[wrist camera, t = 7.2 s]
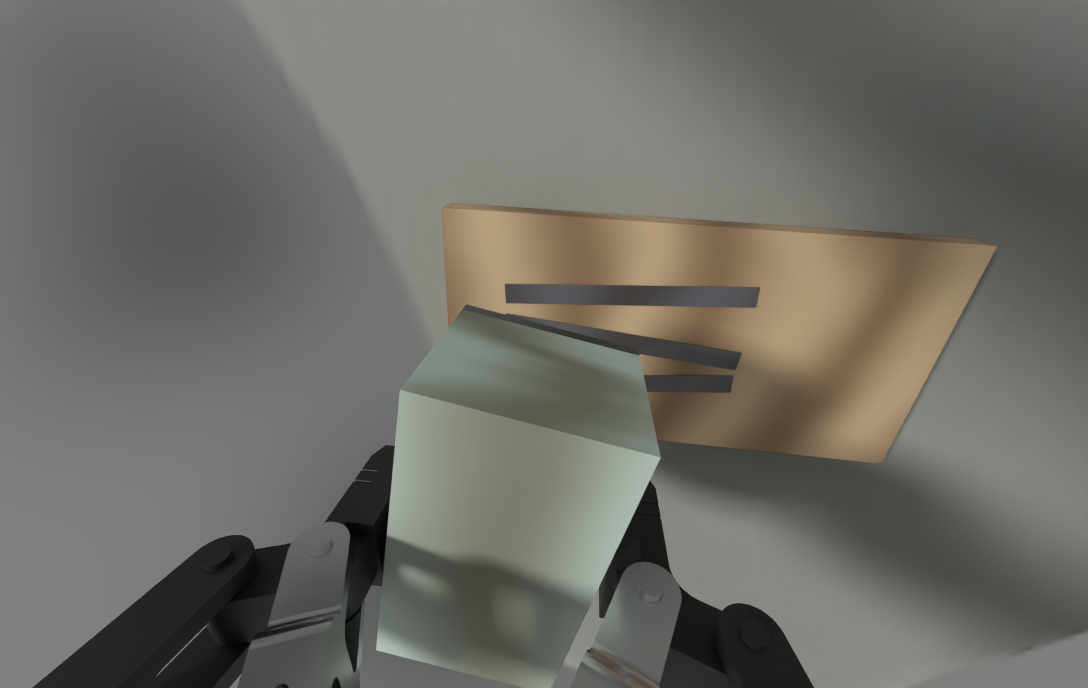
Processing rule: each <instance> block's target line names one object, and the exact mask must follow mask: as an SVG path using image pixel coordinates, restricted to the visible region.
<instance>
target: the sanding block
mask: <svg viewBox="0 0 1088 688" xmlns="http://www.w3.org/2000/svg"><path fill="white" fill-rule="evenodd" d="M660 458H661V457H660V452H659V447H658V442H657V437H656V433H655V428H654V423H653V418H652V413H651V408H650V404H649V399H648V394H647V389H646V384H645V379H644V375H643V370H642V365H641V360H640V355H639V350H638V349H635V348H632V347H628V346H624V345H620V344H616V343H612V342H609V341H605V340H601V339H597V338H593V337H590V336H586V335H582V334H578V333H574V332H570V331H567V330H563V329H559V328H555V327H551V326H547V325H544V324H540V323H536V322H532V321H528V320H525V319H521V318H517V317H513V316H509V315H505V314H502V313H498V312H494V311H490V310H486V309H482V308H479V307H475V306H471V305H467V304H466V305H465V307H464V308H463V309H462V311H461V312H460V313H459V314H458V316H457V317H456V318H455V320H454V321H453V322H452V323H451V325H450V326H449V327H448V329H447V330H446V331H445V332H444V334H443V335H442V336H441V338H440V339H439V340H438V342H437V343H436V344H435V345H434V347H433V348H432V349H431V351H430V352H429V353H428V354H427V356H426V357H425V358H424V360H423V361H422V362H421V363H420V365H419V366H418V367H417V369H416V370H415V371H414V373H413V374H412V375H411V377H410V378H409V379H408V380H407V382H406V383H405V384H404V385H403V387H402V388H401V390H400V396H399V408H398V418H397V429H396V440H395V451H394V461H393V472H392V483H391V494H390V505H389V516H388V527H387V538H386V549H385V560H384V571H383V582H382V593H381V604H380V614H379V625H378V636H377V647H376V648H377V649H376V650H378V651H382V652H386V653H389V654H393V655H397V656H402V657H405V658H409V659H413V660H417V661H421V662H425V663H429V664H433V665H437V666H440V667H444V668H448V669H452V670H456V671H460V672H464V673H468V674H472V675H476V676H480V677H484V678H488V679H492V680H495V681H499V682H503V683H508V684H511V685H515V686H519V687H523V688H551V686H552V684H553V682H554V680H555V678H556V676H557V674H558V672H559V670H560V668H561V666H562V664H563V661H564V659H565V657H566V655H567V653H568V651H569V649H570V647H571V645H572V643H573V640H574V638H575V636H576V634H577V632H578V630H579V628H580V626H581V624H582V622H583V619H584V617H585V615H586V613H587V611H588V609H589V607H590V605H591V603H592V601H593V598H594V596H595V594H596V592H597V590H598V588H599V586H600V584H601V582H602V580H603V578H604V575H605V573H606V571H607V569H608V567H609V565H610V563H611V561H612V559H613V557H614V554H615V552H616V550H617V548H618V546H619V544H620V542H621V540H622V538H623V536H624V533H625V531H626V529H627V527H628V525H629V523H630V521H631V519H632V517H633V515H634V512H635V510H636V508H637V506H638V504H639V502H640V500H641V498H642V496H643V494H644V491H645V489H646V487H647V485H648V483H649V481H650V479H651V477H652V475H653V473H654V471H655V468H656V466H657V464H658V462H659V460H660Z"/></svg>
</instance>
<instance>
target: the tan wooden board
mask: <svg viewBox="0 0 1088 688" xmlns="http://www.w3.org/2000/svg"><path fill="white" fill-rule="evenodd" d="M442 220H443V237H444V255H445V272H446V290H447V307H448V325H449V326H450V325H451V323H452V322H453V321H454V320H455V318H456V317H457V316H458V314H459V313H460V312H461V311H462V309H463V308H464V307H465V305H466V304H467V305H471V306H475V307H479V308H482V309H486V310H490V311H494V312H498V313H502V314H505V315H509V316H513V317H517V318H521V319H525V320H528V321H532V322H536V323H540V324H544V325H547V326H551V327H555V328H559V329H563V330H567V331H570V332H574V333H578V334H582V335H586V336H590V337H593V338H597V339H601V340H605V341H609V342H612V343H616V344H620V345H624V346H628V347H632V348H635V349H638V350H639V355H640V360H641V365H642V370H643V375H644V379H645V384H646V389H647V394H648V399H649V404H650V408H651V413H652V418H653V423H654V428H655V433H656V437H657V440H660V441H669V442H679V443H688V444H698V445H707V446H717V447H726V448H736V449H745V450H755V451H765V452H774V453H784V454H793V455H803V456H812V457H822V458H831V459H841V460H850V461H860V462H869V463H879V464H881V463H882V461H883V460H884V458H885V456H886V454H887V452H888V450H889V448H890V446H891V445H892V443H893V441H894V439H895V437H896V435H897V433H898V431H899V430H900V428H901V426H902V424H903V422H904V420H905V418H906V417H907V415H908V413H909V411H910V409H911V407H912V405H913V403H914V402H915V400H916V398H917V396H918V394H919V392H920V390H921V388H922V387H923V385H924V383H925V381H926V379H927V377H928V375H929V373H930V372H931V370H932V368H933V366H934V364H935V362H936V360H937V359H938V357H939V355H940V353H941V351H942V349H943V347H944V345H945V344H946V342H947V340H948V338H949V336H950V334H951V332H952V330H953V329H954V327H955V325H956V323H957V321H958V319H959V317H960V315H961V314H962V312H963V310H964V308H965V306H966V304H967V302H968V301H969V299H970V297H971V295H972V293H973V291H974V289H975V287H976V286H977V284H978V282H979V280H980V278H981V276H982V274H983V272H984V271H985V269H986V267H987V265H988V263H989V261H990V259H991V257H992V256H993V254H994V252H995V250H996V248H997V246H996V245H992V244H989V243H985V242H981V241H978V240H974V239H970V238H959V237H944V236H929V235H914V234H900V233H885V232H870V231H856V230H841V229H826V228H812V227H797V226H782V225H767V224H753V223H738V222H723V221H709V220H694V219H679V218H664V217H650V216H635V215H620V214H606V213H591V212H576V211H562V210H547V209H532V208H517V207H503V206H488V205H473V204H459V203H450V204H448V205H446V206H444V207H442Z"/></svg>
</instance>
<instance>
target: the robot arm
mask: <svg viewBox="0 0 1088 688" xmlns="http://www.w3.org/2000/svg"><path fill="white" fill-rule="evenodd" d="M394 451H395V446H389V445H386V446H384V447H383V448H381V449H380V450H379V451H377V452H376V453H375V454H373V455H372V456H371V457H370V459H369V460H368V462H367V463H366V464H365V466H364V467H363V470H362V471H360V473H359V475H358V476H357V477H356V479H355V482H353V483H352V484H351V486H350V487H349V489H348V490H347V491H346V493H345V494H344V496H343V497H342V499H341V500H340V501H339V503H338V504H337V506H336V507H335V508H334V510H333V511H332V513H331V514H330V516H329V517H328V518H327V520H326V521H325V522H324V523H320V524H317V525H314V526H312V527H310V528H308V529H306V530H305V531H303V532H302V533H301V534H299V535H298V536H297V537H296V538H295V539H294V541H293V542H292V543H290V544H285V545H279V546H272V547H266V548H260V549H255V548H254V546H253V543H252V541H251V540H250V539H249V538H247V537H245V536H242V535H231V536H226V537H222V538H219V539H216V540H214V541H212V542H210V543H208V544H206V545H205V546H203V547H201V548H200V549H199V550H198V551H196V552H195V553H194V554H193V555H191V556H190V557H189V558H188V559H187V560H186V561H184V562H183V563H182V564H181V565H180V566H178V567H177V568H176V569H175V570H173V571H172V572H171V573H170V574H169V575H167V577H165V578H164V579H163V580H161V581H160V582H159V583H158V584H157V585H155V586H154V587H153V588H152V589H151V590H149V591H148V592H147V593H146V594H145V595H143V596H142V597H141V598H140V599H138V600H137V601H136V602H135V603H134V604H132V605H131V606H130V607H129V608H128V609H127V610H125V611H124V612H123V613H122V614H120V615H119V616H118V617H117V618H116V619H115V620H113V621H112V622H111V623H110V624H109V625H107V626H106V627H105V628H104V629H102V630H101V631H100V632H99V633H98V634H97V635H95V636H94V637H93V638H92V639H90V640H89V641H88V642H87V643H86V644H85V645H83V646H82V647H81V648H80V649H79V650H77V651H76V652H75V653H74V654H72V655H71V656H70V657H69V658H68V659H66V660H65V661H64V662H63V663H62V664H60V665H59V666H58V667H57V668H56V669H54V670H53V671H52V672H51V673H50V674H48V675H47V676H46V677H45V678H44V679H42V680H41V681H40V682H39V683H38V684H36V685H35V686H34V687H33V688H229V687H230V686H231V685H232V684H233V682H234V681H235V680H236V679H237V678H238V677H239V675H240V674H241V677H240V680H239V683H238V687H237V688H360V670H361V657H362V644H363V631H364V617H365V600H364V599H365V597H366V594H367V593H368V591H369V589H370V587H371V585H376V586H382V582H383V571H384V560H385V549H386V538H387V527H388V516H389V505H390V494H391V483H392V472H393V461H394ZM599 618H604V619H603V622H602V624H601V626H600V629H599V631H598V634H597V636H596V638H595V641H594V643H593V645H592V647H591V649H590V650H587V652H586V653H585V655H584V657H583V659H582V661H581V663H580V666H579V668H578V670H577V672H576V675H575V677H574V679H573V682H572V684H571V687H570V688H659V687H660V688H814V687H813V685H812V683H811V682H810V680H809V678H808V676H807V674H806V673H805V671H804V669H803V667H802V665H801V664H800V662H799V660H798V658H797V656H796V655H795V653H794V651H793V649H792V647H791V646H790V644H789V642H788V640H787V638H786V637H785V635H784V633H783V632H782V630H781V628H780V627H779V626H778V625H777V623H776V622H775V621H774V620H773V619H772V618H771V617H770V616H768V615H767V614H766V613H764V612H763V611H761V610H760V609H758V608H756V607H753V606H751V605H747V604H741V603H736V604H731V605H729V606H727V607H726V608H724V610H723V611H721V610H719V609H717V608H715V607H712V606H710V605H708V604H706V603H704V602H701V601H699V600H697V599H695V598H694V597H692V596H691V595H689V594H688V593H687V592H685V591H684V590H683V589H682V588H681V587H680V586H679V584H678V583H677V582H676V580H675V579H674V577H673V575H672V573H671V571H670V567H669V563H668V557H667V551H666V545H665V540H664V534H663V528H662V522H661V519H660V511H659V507H658V499H657V494H656V489H655V487H654V486H653V484H652V483H651V481H649V483H648V485H647V487H646V489H645V491H644V494H643V496H642V498H641V500H640V502H639V504H638V506H637V508H636V510H635V512H634V515H633V517H632V519H631V521H630V523H629V525H628V527H627V529H626V531H625V533H624V536H623V538H622V540H621V542H620V544H619V546H618V548H617V550H616V552H615V554H614V557H613V559H612V561H611V563H610V565H609V567H608V569H607V571H606V573H605V575H604V578H603V580H602V582H601V584H600V586H599ZM205 625H206V628H205V629H204V630H203V631H202V632H201V633H200V634H199V635H198V636H197V637H196V638H195V639H194V640H193V641H192V642H191V643H190V644H189V645H188V646H187V647H186V648H185V649H184V650H183V651H182V652H181V653H180V654H179V655H178V656H177V657H176V658H175V659H174V660H173V661H172V662H171V663H170V664H169V665H168V666H167V667H166V668H165V669H164V670H163V671H162V672H161V673H160V674H159V675H158V676H157V674H158V673H159V672H160V671H161V670H162V668H163V667H164V666H165V665H166V664H167V663H168V662H169V661H170V660H171V659H172V658H173V657H174V656H175V655H176V654H177V653H178V652H179V651H180V650H181V649H182V648H183V647H184V646H185V645H186V644H187V643H188V642H189V641H190V640H191V639H192V638H193V637H194V636H195V635H196V634H197V633H198V632H199V631H200V630H201V629H202V628H203V627H204V626H205ZM156 676H157V677H156Z"/></svg>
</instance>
